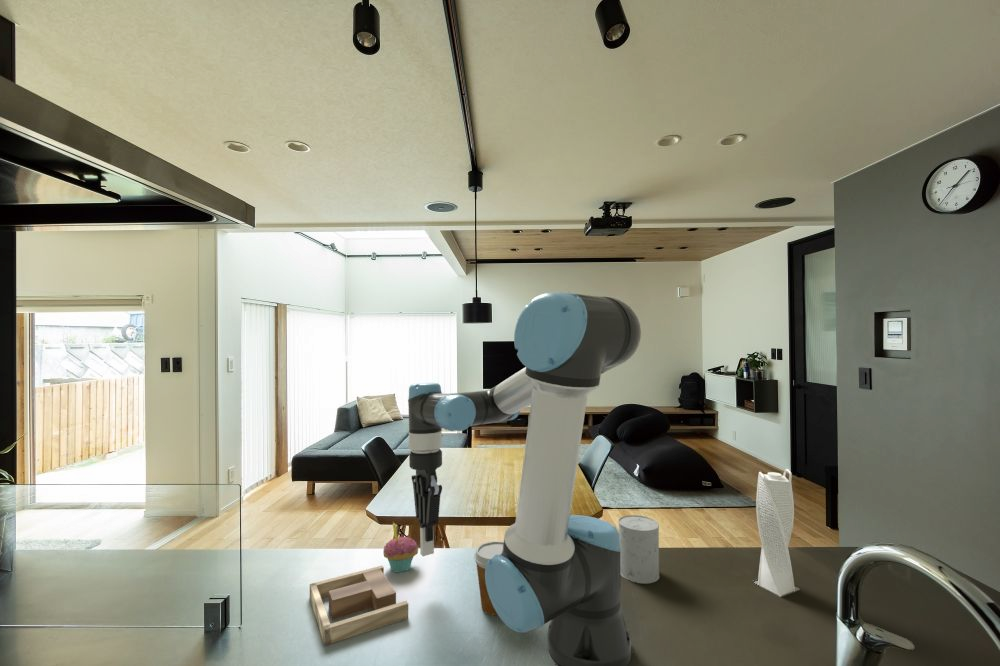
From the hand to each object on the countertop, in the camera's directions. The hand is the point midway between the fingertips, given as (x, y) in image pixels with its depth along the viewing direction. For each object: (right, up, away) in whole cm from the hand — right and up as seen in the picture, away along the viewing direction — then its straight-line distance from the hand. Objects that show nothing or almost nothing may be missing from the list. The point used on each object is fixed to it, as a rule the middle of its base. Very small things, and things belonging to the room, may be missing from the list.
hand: (427, 553), depth 103 cm
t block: (-13, -8, -7) cm, 17 cm away
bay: (-13, -8, -7) cm, 17 cm away
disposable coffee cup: (+16, -8, -7) cm, 19 cm away
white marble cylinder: (+51, -8, +7) cm, 52 cm away
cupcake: (-8, -9, +10) cm, 15 cm away
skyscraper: (+80, -8, 0) cm, 81 cm away
